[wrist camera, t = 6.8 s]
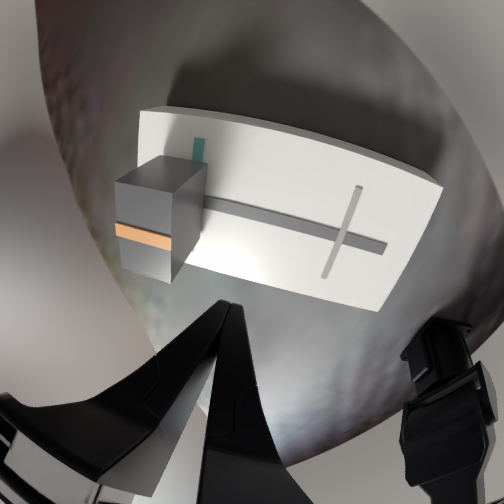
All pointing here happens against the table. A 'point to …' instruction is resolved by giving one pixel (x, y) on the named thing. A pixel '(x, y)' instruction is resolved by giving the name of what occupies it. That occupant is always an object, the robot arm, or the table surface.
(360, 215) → the console
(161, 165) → the fader
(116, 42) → the table surface
